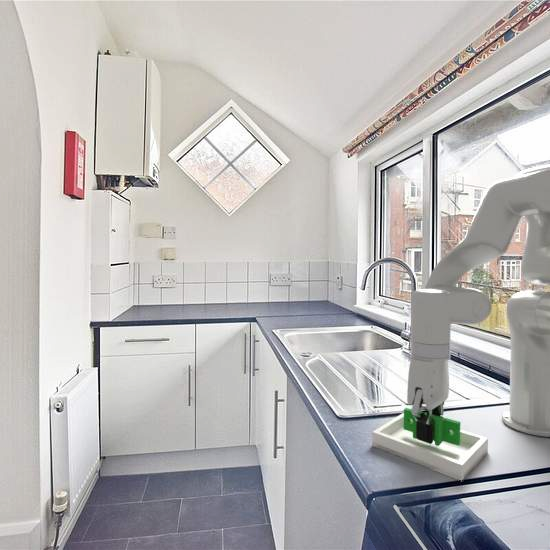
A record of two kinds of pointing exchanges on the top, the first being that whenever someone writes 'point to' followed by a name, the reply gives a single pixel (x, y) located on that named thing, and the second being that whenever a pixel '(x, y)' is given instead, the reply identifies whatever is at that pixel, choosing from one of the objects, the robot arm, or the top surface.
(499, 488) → the top surface
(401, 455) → the tray
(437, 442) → the pipe clamp
